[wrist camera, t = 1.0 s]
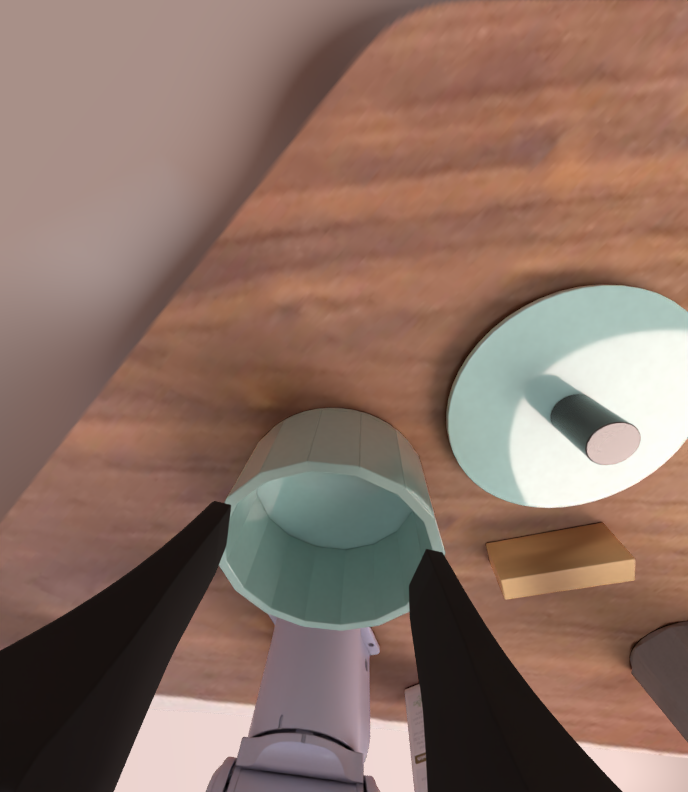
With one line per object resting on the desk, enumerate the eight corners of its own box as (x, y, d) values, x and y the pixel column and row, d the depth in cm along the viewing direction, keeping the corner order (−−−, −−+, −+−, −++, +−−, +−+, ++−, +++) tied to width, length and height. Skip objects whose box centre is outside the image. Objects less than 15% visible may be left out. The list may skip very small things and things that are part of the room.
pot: (440, 532, 24) (463, 614, 18) (289, 561, 26) (268, 641, 21) (398, 384, 20) (411, 435, 14) (220, 434, 22) (171, 494, 16)
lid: (685, 470, 21) (763, 523, 17) (465, 514, 23) (486, 569, 19) (704, 243, 16) (821, 239, 12) (420, 330, 18) (436, 351, 14)
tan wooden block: (603, 521, 23) (635, 558, 20) (603, 542, 23) (635, 580, 21) (485, 543, 24) (500, 580, 21) (489, 561, 25) (505, 600, 22)
